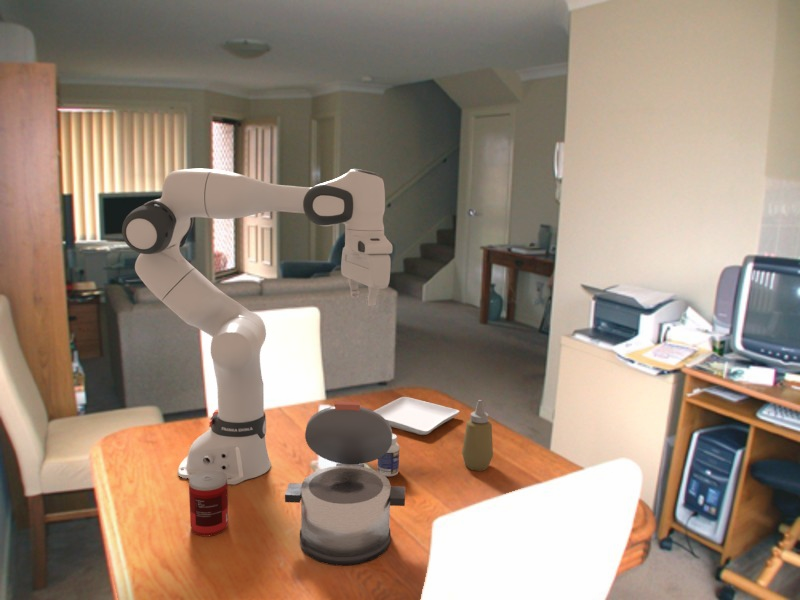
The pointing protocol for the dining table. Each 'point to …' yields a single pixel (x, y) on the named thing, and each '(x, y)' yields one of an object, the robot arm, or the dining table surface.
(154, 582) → the dining table surface
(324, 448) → the cooker lid
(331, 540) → the cooker pot
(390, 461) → the pill bottle
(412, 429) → the salad plate
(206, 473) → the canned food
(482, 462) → the squeeze bottle
